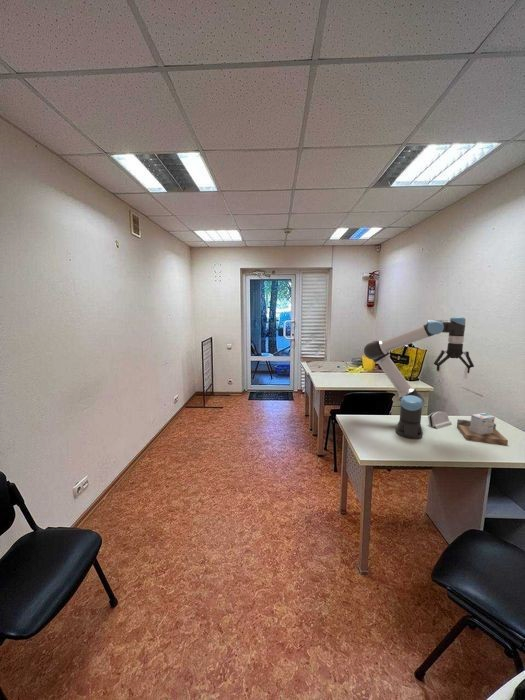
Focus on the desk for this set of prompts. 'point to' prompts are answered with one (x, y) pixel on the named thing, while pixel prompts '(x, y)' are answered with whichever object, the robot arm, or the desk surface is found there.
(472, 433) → the walnut stand
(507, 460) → the desk surface
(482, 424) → the light bulb box
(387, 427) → the desk surface
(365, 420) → the desk surface
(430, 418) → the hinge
